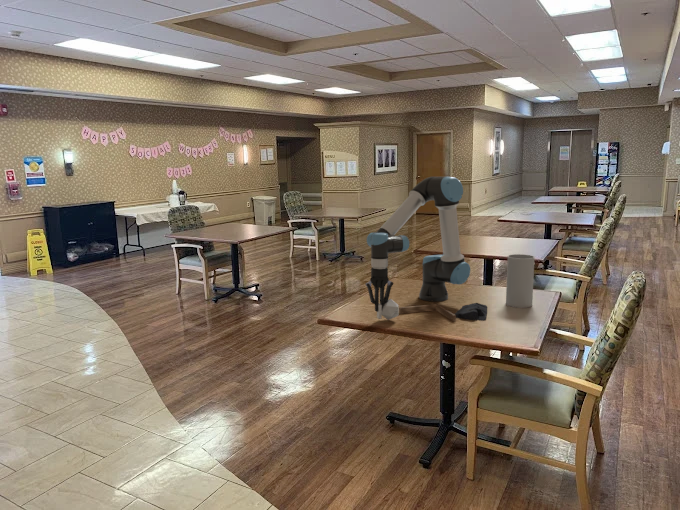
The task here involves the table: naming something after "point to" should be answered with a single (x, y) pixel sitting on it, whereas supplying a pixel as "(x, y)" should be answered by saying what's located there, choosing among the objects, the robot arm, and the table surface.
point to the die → (390, 309)
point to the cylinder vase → (520, 280)
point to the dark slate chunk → (472, 312)
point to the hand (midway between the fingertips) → (379, 318)
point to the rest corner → (428, 308)
